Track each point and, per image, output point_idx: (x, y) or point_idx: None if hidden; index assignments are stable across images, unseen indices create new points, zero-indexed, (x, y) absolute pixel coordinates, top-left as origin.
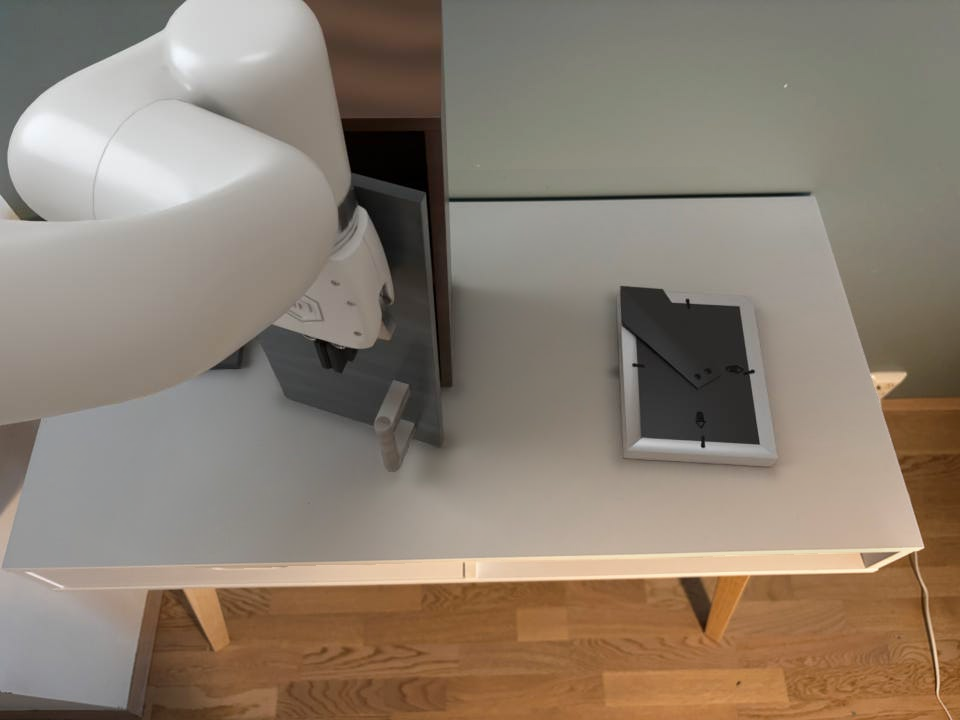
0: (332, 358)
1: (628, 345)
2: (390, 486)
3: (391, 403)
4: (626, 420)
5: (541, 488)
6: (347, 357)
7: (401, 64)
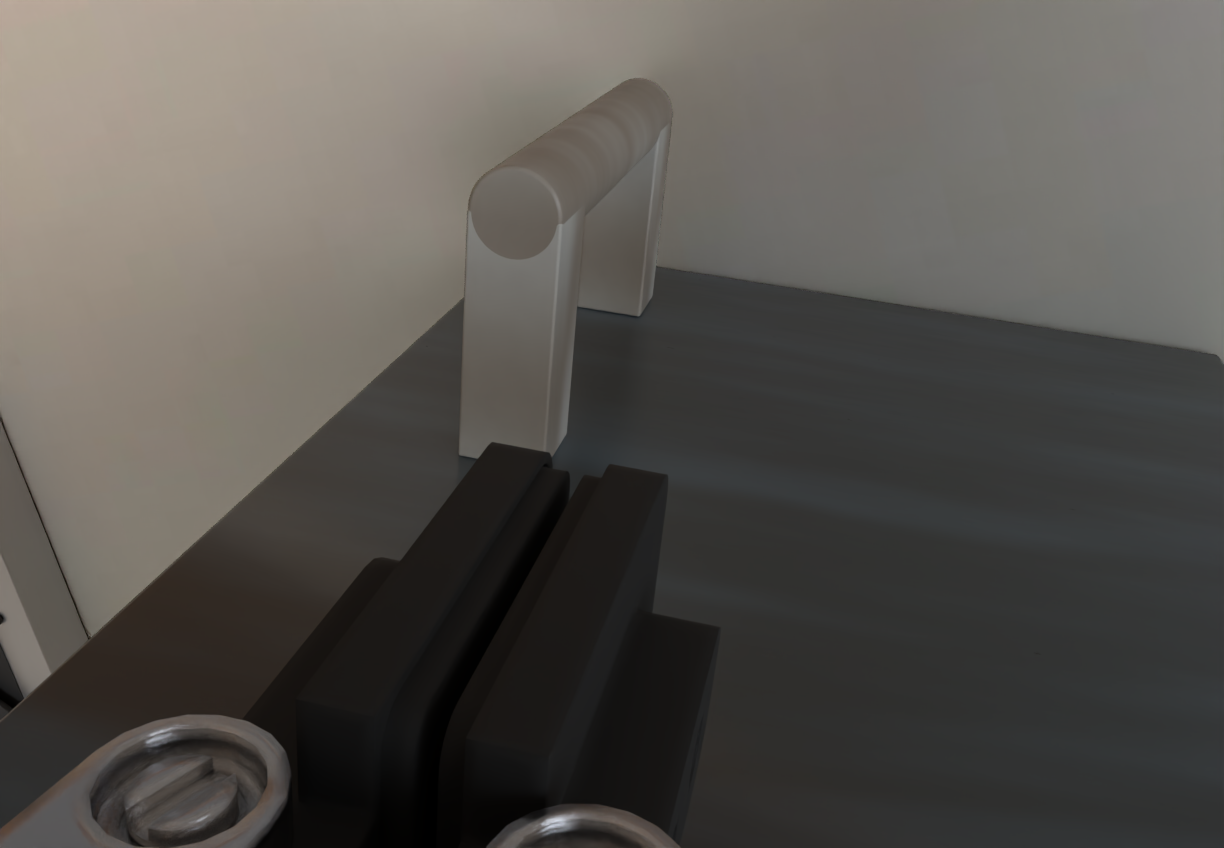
0: (431, 578)
1: (36, 679)
2: (668, 42)
3: (507, 339)
4: None
5: (147, 154)
6: (368, 597)
7: None
